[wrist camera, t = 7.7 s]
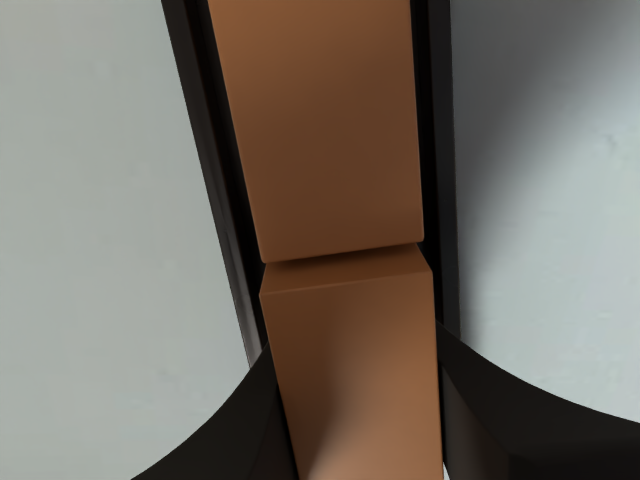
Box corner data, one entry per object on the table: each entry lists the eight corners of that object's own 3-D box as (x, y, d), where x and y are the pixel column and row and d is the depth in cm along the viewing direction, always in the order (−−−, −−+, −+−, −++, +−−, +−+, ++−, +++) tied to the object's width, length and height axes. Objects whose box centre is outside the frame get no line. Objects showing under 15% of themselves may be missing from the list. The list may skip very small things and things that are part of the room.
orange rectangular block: (391, 197, 13) (432, 271, 9) (409, 410, 16) (448, 550, 12) (277, 213, 13) (258, 294, 9) (316, 421, 16) (317, 564, 12)
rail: (426, -170, 11) (444, -206, 10) (451, 398, 17) (464, 429, 16) (148, -123, 11) (123, -152, 10) (273, 421, 18) (269, 454, 16)
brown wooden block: (357, -135, 11) (393, -281, 6) (386, 183, 14) (425, 242, 9) (220, -112, 11) (156, -239, 6) (277, 198, 14) (262, 266, 9)
